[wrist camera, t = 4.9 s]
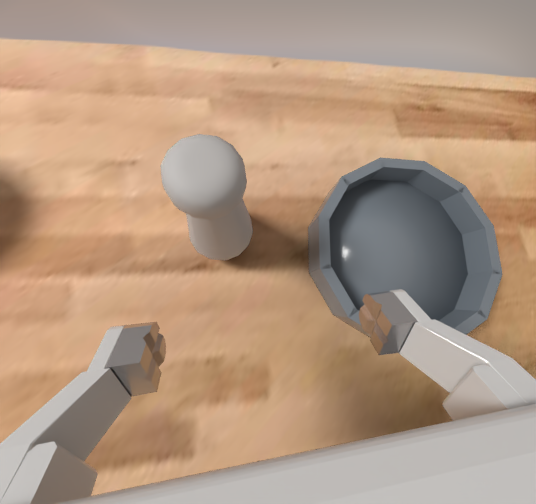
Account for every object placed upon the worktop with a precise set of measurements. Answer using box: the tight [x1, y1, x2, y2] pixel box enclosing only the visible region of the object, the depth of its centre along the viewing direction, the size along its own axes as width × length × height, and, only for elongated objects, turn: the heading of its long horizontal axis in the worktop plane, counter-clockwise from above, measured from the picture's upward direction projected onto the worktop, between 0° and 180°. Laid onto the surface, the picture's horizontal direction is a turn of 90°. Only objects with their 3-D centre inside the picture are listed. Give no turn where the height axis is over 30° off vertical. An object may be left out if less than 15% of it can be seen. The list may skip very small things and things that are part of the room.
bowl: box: [308, 158, 502, 337], centre depth 24 cm, size 18×18×4 cm
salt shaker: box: [161, 134, 253, 261], centre depth 17 cm, size 6×6×13 cm
